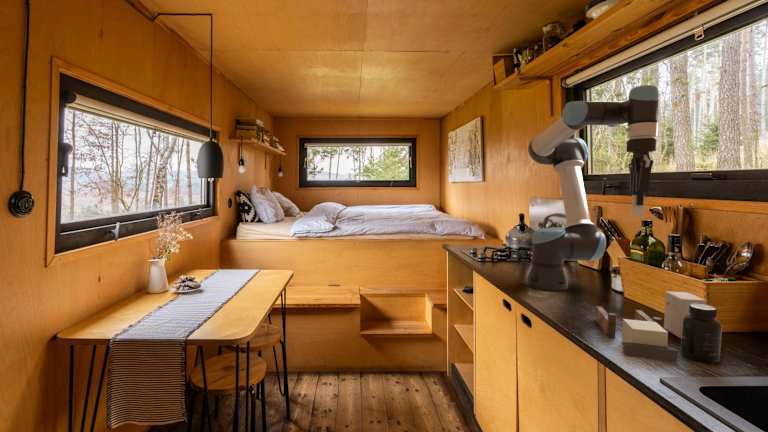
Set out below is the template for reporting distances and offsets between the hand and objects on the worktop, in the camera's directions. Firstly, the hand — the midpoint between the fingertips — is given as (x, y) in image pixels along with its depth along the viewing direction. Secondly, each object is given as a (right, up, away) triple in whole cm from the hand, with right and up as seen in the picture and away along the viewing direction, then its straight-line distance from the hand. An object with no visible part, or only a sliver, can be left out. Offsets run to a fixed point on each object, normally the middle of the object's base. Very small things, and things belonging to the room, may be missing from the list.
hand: (637, 216), depth 114 cm
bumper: (-17, -32, -29) cm, 47 cm away
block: (-16, -32, -25) cm, 44 cm away
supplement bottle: (-6, -33, -29) cm, 44 cm away
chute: (-12, -31, -13) cm, 36 cm away
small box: (+2, -32, -15) cm, 35 cm away
